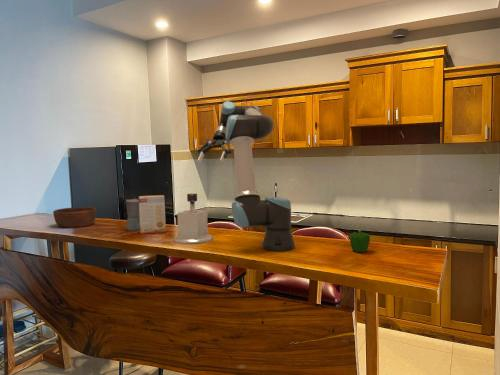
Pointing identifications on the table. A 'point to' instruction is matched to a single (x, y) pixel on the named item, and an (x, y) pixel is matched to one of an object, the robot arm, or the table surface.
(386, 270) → the table surface
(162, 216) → the cracker box
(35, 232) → the table surface
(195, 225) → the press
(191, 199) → the plunger
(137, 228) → the moka pot
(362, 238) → the bell pepper
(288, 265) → the table surface
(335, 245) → the table surface
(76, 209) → the wooden bowl
